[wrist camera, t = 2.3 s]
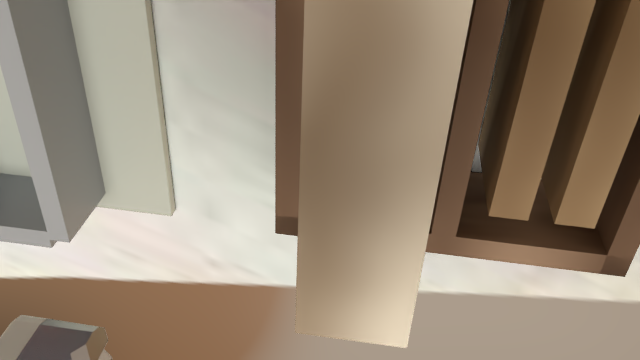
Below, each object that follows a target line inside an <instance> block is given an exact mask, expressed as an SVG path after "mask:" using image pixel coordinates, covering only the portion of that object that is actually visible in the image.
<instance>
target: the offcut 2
mask: <svg viewBox="0 0 640 360" xmlns="http://www.w3.org/2000/svg"><path fill="white" fill-rule="evenodd" d="M639 115H640V0H596V2H595V5H594V9H593V12H592V15H591V18H590V22H589V25H588V28H587V31H586V35H585V38H584V41H583V44H582V48H581V51H580V54H579V57H578V60H577V64H576V67H575V70H574V73H573V77H572V80H571V83H570V86H569V90H568V93H567V96H566V99H565V103H564V106H563V109H562V112H561V115H560V119H559V122H558V125H557V128H556V132H555V135H554V138H553V141H552V145H551V148H550V151H549V154H548V157H547V161H546V164H545V167H544V170H543V174H542V177H541V178H542V182H543V185H544V189H545V192H546V196H547V199H548V203H549V207H550V210H551V214H552V217H553V221H554V224H560V225H568V226H577V227H585V228H593V229H595V226H596V224H597V221H598V219H599V216H600V214H601V211H602V208H603V206H604V203H605V201H606V198H607V196H608V193H609V191H610V188H611V186H612V183H613V181H614V178H615V176H616V173H617V170H618V168H619V165H620V163H621V160H622V158H623V155H624V153H625V150H626V148H627V145H628V143H629V140H630V138H631V135H632V133H633V130H634V127H635V125H636V122H637V120H638V117H639Z"/></svg>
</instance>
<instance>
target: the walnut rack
mask: <svg viewBox="0 0 640 360" xmlns="http://www.w3.org/2000/svg"><path fill="white" fill-rule="evenodd" d="M304 3H305V0H276V229H275V233H278V234H286V235H294V236H298V212H299V178H300V143H301V108H302V73H303V38H304ZM508 3H509V0H473V5H472V10H471V15H470V20H469V26H468V31H467V36H466V41H465V47H464V52H463V57H462V62H461V67H460V73H459V78H458V83H457V88H456V94H455V99H454V104H453V109H452V115H451V120H450V125H449V130H448V135H447V141H446V146H445V151H444V156H443V162H442V167H441V172H440V177H439V183H438V188H437V193H436V198H435V203H434V209H433V214H432V219H431V224H430V230H429V235H428V240H427V245H426V251H425V252H430V253H438V254H446V255H454V256H462V257H470V258H478V259H486V260H494V261H502V262H510V263H518V264H526V265H534V266H542V267H550V268H558V269H566V270H575V271H583V272H591V273H599V274H607V275H615V276H623V277H625V275H626V273H627V271H628V269H629V266H630V264H631V262H632V260H633V258H634V256H635V253H636V251H637V249H638V247H639V245H640V115H639V117H638V120H637V122H636V125H635V127H634V130H633V133H632V135H631V138H630V140H629V143H628V145H627V148H626V150H625V153H624V155H623V158H622V160H621V163H620V165H619V168H618V170H617V173H616V176H615V178H614V181H613V183H612V186H611V188H610V191H609V193H608V196H607V198H606V201H605V203H604V206H603V208H602V211H601V214H600V216H599V219H598V221H597V224H596V226H595V229H593V228H585V227H577V226H568V225H560V224H554V221H553V217H552V214H551V210H550V207H549V203H548V199H547V196H546V192H545V189H544V185H543V182H542V180H540V183H539V187H538V190H537V193H536V196H535V200H534V203H533V206H532V209H531V212H530V216H529V219H528V221H526V220H518V219H509V218H501V217H492V216H488V209H487V202H486V195H485V188H484V181H483V174H482V173H476V172H471V167H472V163H473V159H474V154H475V150H476V145H477V141H478V136H479V132H480V128H481V123H482V119H483V114H484V110H485V105H486V101H487V97H488V92H489V88H490V83H491V79H492V74H493V70H494V65H495V61H496V57H497V52H498V48H499V43H500V39H501V34H502V30H503V26H504V21H505V17H506V12H507V8H508Z"/></svg>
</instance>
